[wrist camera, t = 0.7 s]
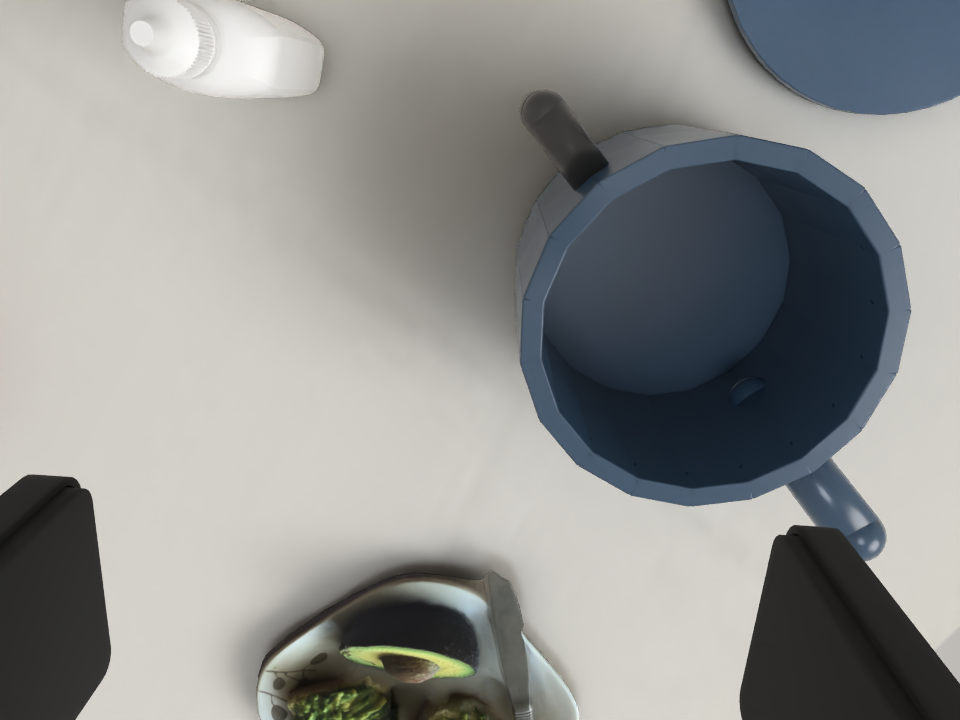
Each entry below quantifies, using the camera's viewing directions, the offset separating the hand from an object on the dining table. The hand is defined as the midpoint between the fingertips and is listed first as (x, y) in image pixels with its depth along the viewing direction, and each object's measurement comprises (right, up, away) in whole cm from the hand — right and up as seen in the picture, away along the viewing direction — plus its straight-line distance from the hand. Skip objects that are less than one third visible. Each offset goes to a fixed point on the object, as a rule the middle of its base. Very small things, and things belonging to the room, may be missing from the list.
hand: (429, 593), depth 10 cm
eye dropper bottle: (-9, +17, +23) cm, 30 cm away
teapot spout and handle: (+10, +6, +24) cm, 27 cm away
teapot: (+9, +7, +26) cm, 29 cm away
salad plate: (-3, -16, +35) cm, 38 cm away
